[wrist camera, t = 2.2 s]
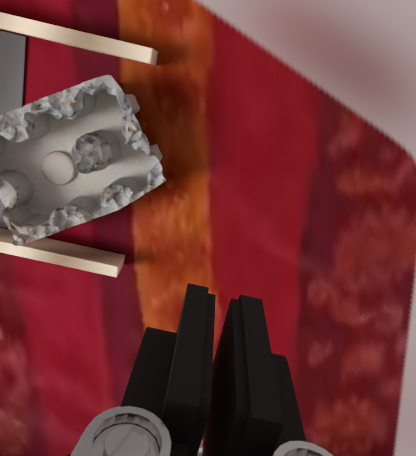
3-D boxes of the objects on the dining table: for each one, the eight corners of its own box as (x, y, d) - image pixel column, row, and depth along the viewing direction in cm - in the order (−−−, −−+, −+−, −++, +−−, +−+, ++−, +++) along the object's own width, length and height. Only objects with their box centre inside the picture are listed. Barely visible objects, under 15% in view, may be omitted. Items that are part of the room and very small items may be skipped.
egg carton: (37, 230, 28) (8, 253, 24) (-17, 129, 25) (-60, 136, 22) (176, 182, 26) (168, 198, 22) (131, 69, 24) (114, 65, 20)
